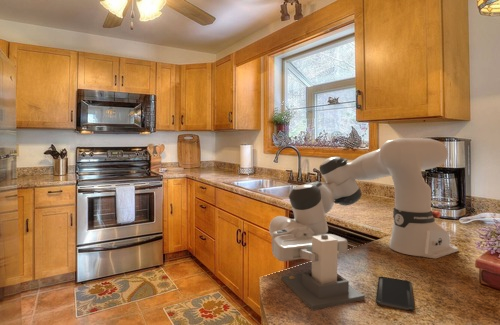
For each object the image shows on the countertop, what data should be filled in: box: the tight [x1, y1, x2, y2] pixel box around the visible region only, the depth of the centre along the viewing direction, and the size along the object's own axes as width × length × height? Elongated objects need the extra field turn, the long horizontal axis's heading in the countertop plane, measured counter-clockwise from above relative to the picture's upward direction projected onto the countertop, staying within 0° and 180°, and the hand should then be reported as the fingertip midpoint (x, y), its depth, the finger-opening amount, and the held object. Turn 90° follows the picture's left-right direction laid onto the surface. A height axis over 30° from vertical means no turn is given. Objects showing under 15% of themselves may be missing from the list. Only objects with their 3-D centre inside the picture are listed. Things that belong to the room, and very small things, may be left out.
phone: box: [375, 276, 415, 313], centre depth 72 cm, size 8×1×15 cm
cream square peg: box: [311, 235, 338, 284], centre depth 73 cm, size 4×4×12 cm
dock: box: [281, 270, 366, 311], centre depth 75 cm, size 14×16×4 cm
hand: (326, 257), depth 72 cm, fingers closed on cream square peg, 4 cm apart
